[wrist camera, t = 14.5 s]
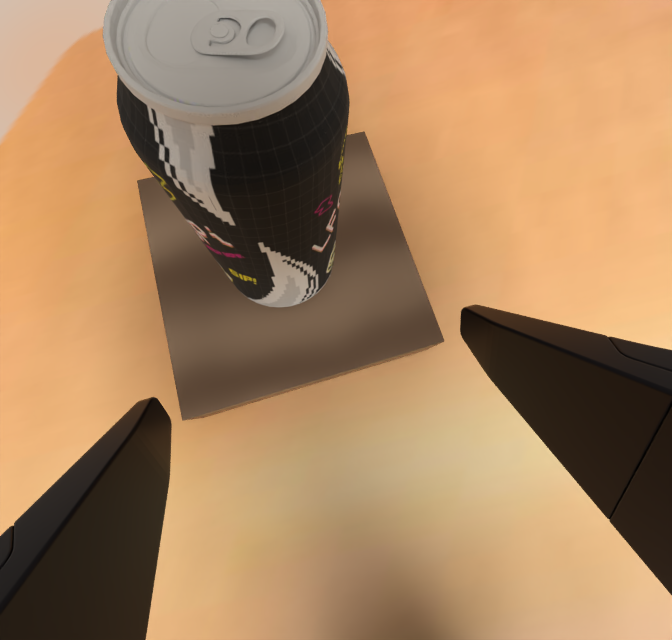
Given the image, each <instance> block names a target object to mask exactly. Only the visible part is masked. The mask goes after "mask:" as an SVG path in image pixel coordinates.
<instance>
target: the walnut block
mask: <svg viewBox="0 0 672 640" xmlns="http://www.w3.org/2000/svg"><path fill="white" fill-rule="evenodd" d="M137 183H138V188H139V194H140V199H141V204H142V209H143V215H144V220H145V225H146V230H147V236H148V241H149V246H150V252H151V257H152V262H153V267H154V273H155V278H156V283H157V289H158V294H159V299H160V304H161V310H162V315H163V320H164V326H165V331H166V336H167V341H168V347H169V352H170V357H171V363H172V368H173V373H174V378H175V384H176V389H177V394H178V400H179V405H180V410H181V415H182V421H184V420H191V419H197V418H204V417H207V416H210V415H214V414H217V413H220V412H223V411H227V410H230V409H233V408H237V407H240V406H243V405H246V404H250V403H253V402H256V401H260V400H263V399H266V398H269V397H273V396H276V395H279V394H283V393H286V392H289V391H292V390H296V389H299V388H302V387H306V386H309V385H312V384H315V383H319V382H322V381H325V380H329V379H332V378H335V377H338V376H342V375H345V374H348V373H352V372H355V371H358V370H361V369H365V368H368V367H371V366H375V365H378V364H381V363H384V362H388V361H391V360H394V359H397V358H401V357H404V356H407V355H411V354H414V353H417V352H420V351H424V350H427V349H429V348H431V347H433V346H435V345H438V344H440V343H442V342H444V339H443V336H442V334H441V331H440V328H439V326H438V323H437V320H436V318H435V315H434V313H433V310H432V307H431V305H430V302H429V300H428V297H427V294H426V292H425V289H424V286H423V284H422V281H421V279H420V276H419V273H418V271H417V268H416V265H415V263H414V260H413V258H412V255H411V252H410V250H409V247H408V245H407V242H406V239H405V237H404V234H403V231H402V229H401V226H400V224H399V221H398V218H397V216H396V213H395V210H394V208H393V205H392V203H391V200H390V197H389V195H388V192H387V190H386V187H385V184H384V182H383V179H382V176H381V174H380V171H379V169H378V166H377V163H376V161H375V158H374V156H373V153H372V150H371V148H370V145H369V142H368V140H367V137H366V135H365V132H360V133H355V134H351V135H346V145H345V155H344V165H343V175H342V184H341V194H340V204H339V214H338V224H337V233H336V243H335V253H334V263H333V268H332V271H331V274H330V276H329V278H328V280H327V282H326V284H325V285H324V286H323V287H322V288H321V290H320V291H319V292H318V293H317V294H315V295H314V296H313V297H312V298H310V299H308V300H306V301H304V302H302V303H300V304H297V305H293V306H289V307H269V306H265V305H262V304H258V303H256V302H254V301H252V300H250V299H248V298H247V297H246V296H245V295H243V294H242V293H241V292H240V291H239V290H238V289H237V288H236V286H235V285H234V284H233V283H232V281H231V280H230V279H229V277H228V276H227V275H226V273H225V272H224V270H223V269H222V268H221V266H220V265H219V264H218V262H217V261H216V260H215V258H214V257H213V256H212V254H211V253H210V252H209V250H208V249H207V247H206V246H205V245H204V243H203V242H202V241H201V239H200V238H199V237H198V235H197V234H196V233H195V231H194V230H193V229H192V227H191V226H190V225H189V223H188V222H187V220H186V219H185V218H184V216H183V215H182V214H181V212H180V211H179V210H178V208H177V207H176V206H175V204H174V203H173V202H172V200H171V199H170V197H169V196H168V195H167V193H166V192H165V191H164V189H163V188H162V187H161V185H160V184H159V183H158V181H157V180H156V179H155V177H151V178H147V179H142V180H138V181H137Z"/></svg>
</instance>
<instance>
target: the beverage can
mask: <svg viewBox="0 0 672 640" xmlns="http://www.w3.org/2000/svg"><path fill="white" fill-rule="evenodd" d="M103 39H104V43H105V48H106V53H107V55H108V57H109V59H110V61H111V63H112V65H113V67H114V69H115V71H116V73H117V74H118V81H117V105H118V109H119V114H120V118H121V122H122V125H123V128H124V130H125V132H126V134H127V136H128V138H129V140H130V142H131V144H132V146H133V148H134V150H135V151H136V153H137V154H138V156H139V157H140V158H141V160H142V161H143V162H144V164H145V165H146V166H147V168H148V169H149V170H150V172H151V173H152V175H153V176H154V177H155V179H156V180H157V181H158V183H159V184H160V185H161V187H162V188H163V189H164V191H165V192H166V193H167V195H168V196H169V197H170V199H171V200H172V202H173V203H174V204H175V206H176V207H177V208H178V210H179V211H180V212H181V214H182V215H183V216H184V218H185V219H186V220H187V222H188V223H189V225H190V226H191V227H192V229H193V230H194V231H195V233H196V234H197V235H198V237H199V238H200V239H201V241H202V242H203V243H204V245H205V246H206V247H207V249H208V250H209V252H210V253H211V254H212V256H213V257H214V258H215V260H216V261H217V262H218V264H219V265H220V266H221V268H222V269H223V270H224V272H225V273H226V275H227V276H228V277H229V279H230V280H231V281H232V283H233V284H234V285H235V286H236V288H237V289H238V290H239V291H240V292H241V293H242V294H243V295H245V296H246V297H247V298H248V299H250V300H252V301H254V302H256V303H258V304H262V305H265V306H269V307H289V306H293V305H297V304H300V303H302V302H304V301H306V300H308V299H310V298H312V297H313V296H314V295H315V294H317V293H318V292H319V291H320V290H321V288H322V287H323V286H324V285H325V284H326V282H327V280H328V278H329V276H330V274H331V271H332V268H333V263H334V253H335V243H336V233H337V224H338V214H339V204H340V194H341V184H342V175H343V165H344V155H345V145H346V135H347V126H348V115H349V93H348V87H347V80H346V76H345V72H344V69H343V67H342V64H341V62H340V60H339V57H338V55H337V53H336V52H335V50H334V48H333V47H332V45H331V44H330V43H329V41H328V27H327V21H326V14H325V10H324V8H323V6H322V3H321V1H320V0H111V1H110V3H109V5H108V9H107V11H106V14H105V17H104V26H103Z"/></svg>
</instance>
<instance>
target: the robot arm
mask: <svg viewBox="0 0 672 640" xmlns="http://www.w3.org/2000/svg"><path fill="white" fill-rule="evenodd" d="M460 332H461V336H462V338H463V340H464V341H465V343H466V344H467V346H468V347H469V349H470V350H471V352H472V353H473V355H474V356H475V358H476V359H477V361H478V362H479V364H480V365H481V367H482V368H483V370H484V371H485V372H486V374H487V375H488V377H489V378H490V379H491V380H492V382H493V383H494V384H495V385H496V386H497V388H498V389H499V390H500V391H501V392H502V394H503V395H504V396H505V397H506V398H507V399H508V401H509V402H510V403H511V404H512V405H513V407H514V408H515V409H516V410H517V411H518V413H519V414H520V415H521V416H522V417H523V419H524V420H525V421H526V422H527V423H528V424H529V426H530V427H531V428H532V429H533V430H534V432H535V433H536V434H537V435H538V436H539V438H540V439H541V440H542V441H543V442H544V444H545V445H546V446H547V447H548V448H549V449H550V451H551V452H552V453H553V454H554V455H555V457H556V458H557V459H558V460H559V461H560V463H561V464H562V465H563V466H564V467H565V469H566V470H567V471H568V472H569V473H570V474H571V476H572V477H573V478H574V479H575V480H576V482H577V483H578V484H579V485H580V486H581V488H582V489H583V490H584V491H585V492H586V494H587V495H588V496H589V497H590V498H591V499H592V501H593V502H594V503H595V504H596V505H597V507H598V508H599V509H600V510H601V511H602V513H603V514H604V515H605V516H606V517H607V518H608V519H610V522H611V524H612V525H613V526H614V527H615V528H616V530H617V531H618V532H619V533H620V534H621V536H622V537H623V538H624V539H625V540H626V541H627V543H628V544H629V545H630V546H631V547H632V549H633V550H634V551H635V552H636V553H637V555H638V556H639V557H640V558H641V559H642V561H643V562H644V563H645V564H646V565H647V566H648V568H649V569H650V570H651V571H652V572H653V574H654V575H655V576H656V577H657V578H658V580H659V581H660V582H661V583H662V584H663V585H664V587H665V588H666V589H667V590H668V591H669V593H670V594H671V595H672V350H668V349H663V348H658V347H654V346H649V345H645V344H640V343H636V342H631V341H627V340H623V339H619V338H615V337H607V336H606V335H602V334H598V333H593V332H589V331H585V330H581V329H577V328H572V327H568V326H564V325H560V324H556V323H551V322H547V321H543V320H539V319H535V318H531V317H526V316H522V315H518V314H514V313H510V312H506V311H501V310H497V309H493V308H489V307H485V306H480V305H471V306H468V307H464V308H463V309H462V311H461V325H460ZM171 427H172V425H171V420H170V417H169V415H168V414H167V412H166V411H165V409H164V408H163V406H162V405H161V403H160V402H159V400H158V399H157V398H155V397H151V398H148V399H145V400H141V401H139V402H137V403H136V404H135V405H134V406H133V407H132V408H131V409H130V410H129V411H128V412H127V413H126V414H125V415H124V416H123V417H122V418H121V419H120V420H119V421H118V422H117V423H116V424H115V425H114V426H113V427H112V428H111V429H110V430H109V431H108V432H107V433H106V434H104V435H103V436H102V437H101V438H100V439H99V440H98V441H97V442H96V443H95V444H94V445H93V446H92V447H91V448H90V449H89V450H88V451H87V452H86V453H85V454H84V455H83V456H82V457H81V458H80V459H79V460H78V461H77V462H76V463H75V464H74V465H73V466H72V467H71V468H70V469H69V470H68V471H67V472H66V473H65V474H64V475H63V476H62V477H61V478H59V479H58V480H57V481H56V482H55V483H54V484H53V485H52V486H51V487H50V488H49V489H48V490H47V491H46V492H45V493H44V494H43V495H42V496H41V497H40V498H39V499H38V500H37V501H36V502H35V503H34V504H33V505H32V506H31V507H30V508H29V509H28V510H27V511H26V512H25V513H24V514H23V515H22V516H21V517H20V518H19V519H18V520H17V521H15V523H14V526H11V527H9V528H8V529H7V530H6V531H5V532H4V533H3V534H2V535H1V536H0V640H146V633H147V627H148V620H149V613H150V607H151V600H152V593H153V587H154V580H155V573H156V567H157V560H158V553H159V547H160V540H161V534H162V527H163V520H164V514H165V507H166V500H167V494H168V487H169V479H170V460H171Z"/></svg>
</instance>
